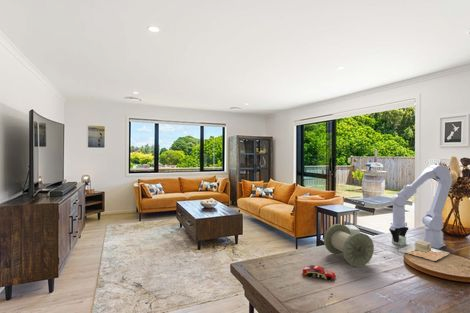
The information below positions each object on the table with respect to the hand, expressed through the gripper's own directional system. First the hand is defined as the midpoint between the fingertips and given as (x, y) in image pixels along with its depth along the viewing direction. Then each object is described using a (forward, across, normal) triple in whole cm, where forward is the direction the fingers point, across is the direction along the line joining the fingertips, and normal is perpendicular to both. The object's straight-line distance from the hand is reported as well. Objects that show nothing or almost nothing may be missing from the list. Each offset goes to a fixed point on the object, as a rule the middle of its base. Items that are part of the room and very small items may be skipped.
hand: (398, 240), depth 148 cm
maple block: (0, +5, +14) cm, 15 cm away
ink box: (+2, +29, -10) cm, 31 cm away
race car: (+2, +68, 0) cm, 68 cm away
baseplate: (+1, +5, +14) cm, 15 cm away
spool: (+2, +43, -3) cm, 43 cm away
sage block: (+2, 0, 0) cm, 2 cm away
